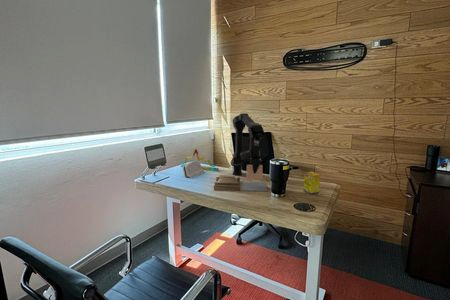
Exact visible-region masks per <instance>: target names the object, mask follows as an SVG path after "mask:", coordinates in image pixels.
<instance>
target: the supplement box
mask: <svg viewBox="0 0 450 300" xmlns="http://www.w3.org/2000/svg"><path fill="white" fill-rule="evenodd" d="M303 175H304V178H303V192H305V193H307V194H309V195H315V194H319V193H320V182H321V174H320V173H317V172H315V171H307V172H304V174H303Z"/></svg>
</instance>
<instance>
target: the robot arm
mask: <svg viewBox="0 0 450 300" xmlns="http://www.w3.org/2000/svg"><path fill="white" fill-rule="evenodd" d="M232 125H233V126H232V127H233V128H234V130H235V141H234V142H235V144H234V145H235V147H234V148H235V151H234V153H233V154H232V158H231V160H230V166H231V167H233V169H232V175H235V176H243V169H242V168H243V167H245V163H246V159H248V158H249V165H252V166H253V171H254V173H256V172H257V170H258V167H259V166H260V165H263V164H262V163H263V161H262V159H261V150H262V151H263V150H266V149H267V148H268V146H269V142H268V140H267V139H266V133H265V130H264V128H263V125H262V124H261V123H258V122H255V121H254V120H253V119H252V117H250V116H249V114H248V113H245V112H244V113H240V114H239V115H236V116H235V117H234V118H232ZM245 128H247V132H248V134H249V148H248V149H249V150H244V151H243V139H244V138H243V137H244V135H243V132H244V130H245Z"/></svg>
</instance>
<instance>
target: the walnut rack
mask: <svg viewBox="0 0 450 300" xmlns="http://www.w3.org/2000/svg"><path fill="white" fill-rule="evenodd" d="M236 177H237V176H236ZM215 180H216V181H215V182H214V185H213V191H241V183H240V182H241V178H240V177H239V176H238V177H237V180H238V183H225V182H218V180H219V176H216V178H215Z"/></svg>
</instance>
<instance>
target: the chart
mask: <svg viewBox="0 0 450 300" xmlns="http://www.w3.org/2000/svg"><path fill="white" fill-rule="evenodd" d="M198 151H199V150H198V149H197V148H196V149H194V151H193V154H192V156H186V157H185V160H184V161H180V163H181V166H180V167H181V168H183V166H185V165H186V164H187V161H188V159H192V158H194V157H195V156H196V159H197V162H200V161H201V160H202V161H203V162H204V163H206V162H208V165H209V166H202V165H201V167H202V169H203V170H204V171H211V172H218V171H219V169H220V168H218V167H217V166H218V164H216V165H213V164H212V162H211V161H210V159H207V160H206V159H205V158H204V157H201V158H200V155H199V152H198ZM185 163H186V164H185Z"/></svg>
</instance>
